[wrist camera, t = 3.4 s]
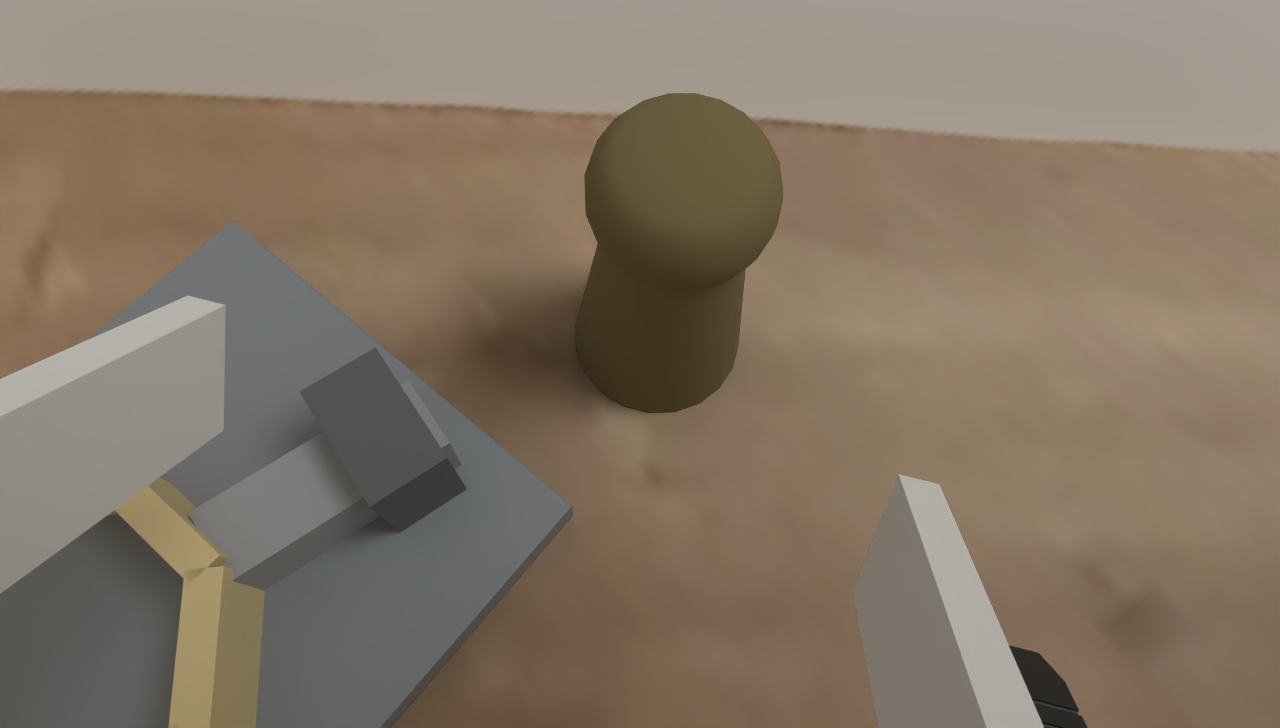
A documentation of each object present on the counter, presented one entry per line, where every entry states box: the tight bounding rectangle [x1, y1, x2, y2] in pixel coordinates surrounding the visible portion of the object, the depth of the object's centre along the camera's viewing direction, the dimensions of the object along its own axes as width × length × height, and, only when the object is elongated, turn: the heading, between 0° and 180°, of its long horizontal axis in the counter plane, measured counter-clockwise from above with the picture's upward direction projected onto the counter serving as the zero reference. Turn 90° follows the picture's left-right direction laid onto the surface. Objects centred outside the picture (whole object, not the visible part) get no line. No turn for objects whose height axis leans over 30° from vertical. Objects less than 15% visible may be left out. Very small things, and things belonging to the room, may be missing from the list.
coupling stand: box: [0, 221, 573, 728], centre depth 22 cm, size 26×16×5 cm, turn 141°
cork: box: [575, 93, 783, 413], centre depth 25 cm, size 6×6×11 cm
